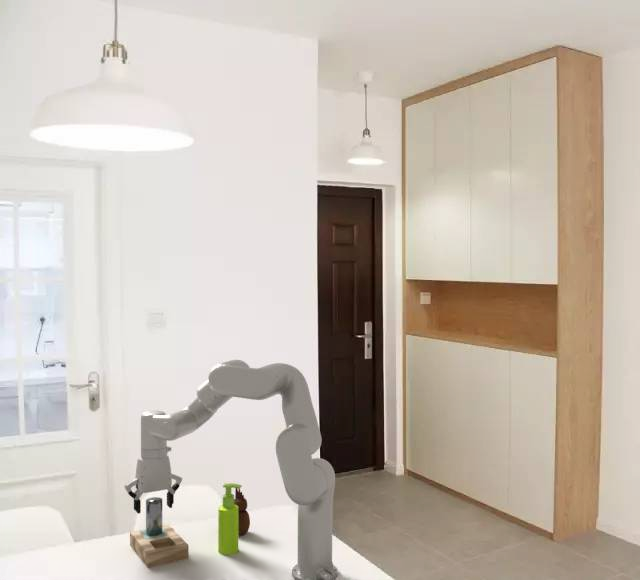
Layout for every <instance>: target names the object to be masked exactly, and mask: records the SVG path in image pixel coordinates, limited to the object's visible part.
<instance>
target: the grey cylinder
mask: <svg viewBox="0 0 640 580" xmlns="http://www.w3.org/2000/svg"><path fill="white" fill-rule="evenodd" d="M162 526H163V498H162V497H158V496H156V497H155V496H154V497H149V498H147V499H145V529H146V535H148V536H158V535H161V534H162Z"/></svg>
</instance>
